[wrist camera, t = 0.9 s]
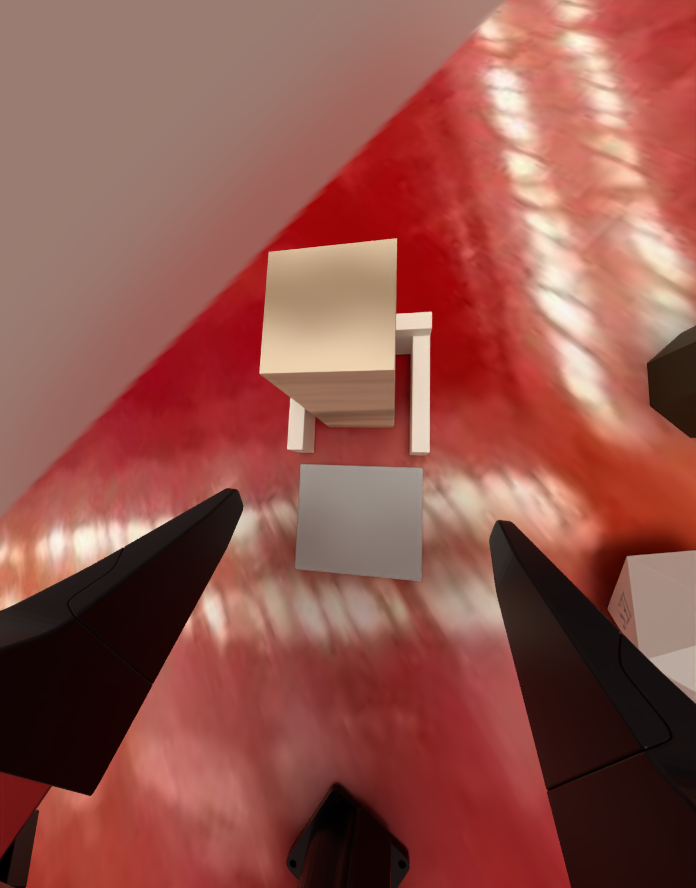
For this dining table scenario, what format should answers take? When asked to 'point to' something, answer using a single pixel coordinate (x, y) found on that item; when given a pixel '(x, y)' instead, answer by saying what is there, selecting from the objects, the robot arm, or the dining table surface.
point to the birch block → (334, 331)
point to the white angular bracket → (417, 343)
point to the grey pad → (360, 521)
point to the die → (660, 612)
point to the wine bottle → (675, 382)
